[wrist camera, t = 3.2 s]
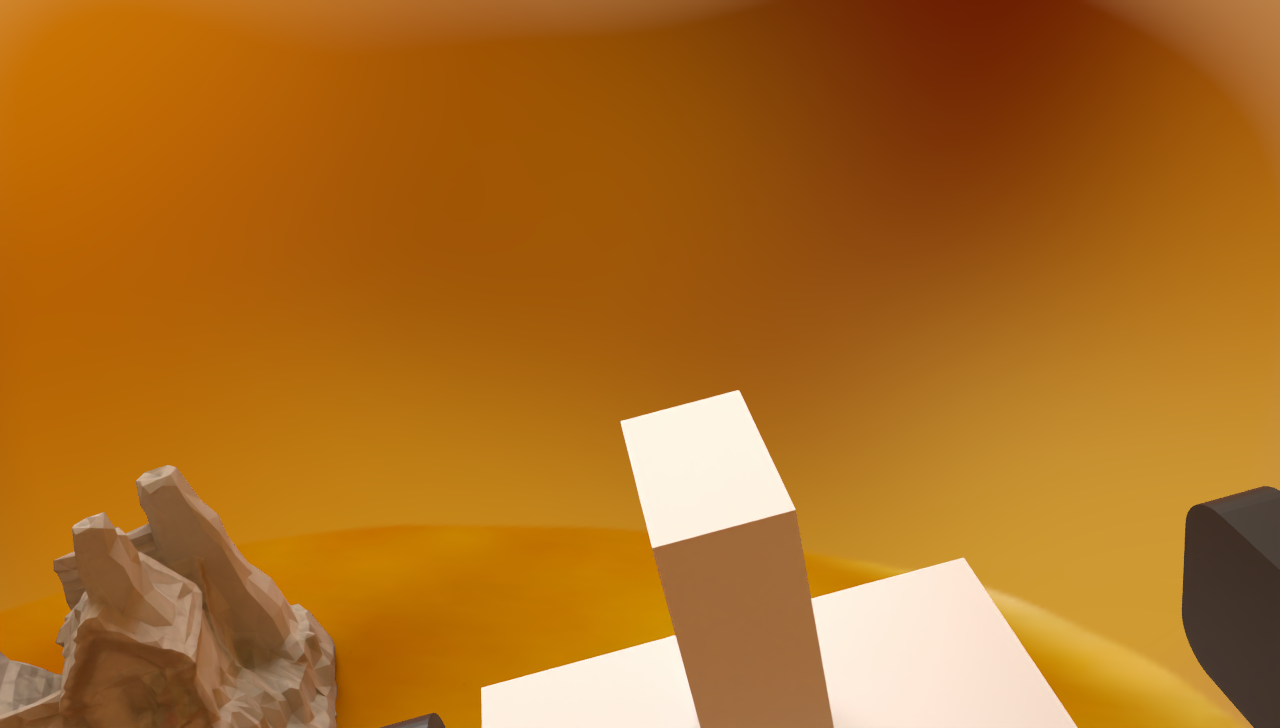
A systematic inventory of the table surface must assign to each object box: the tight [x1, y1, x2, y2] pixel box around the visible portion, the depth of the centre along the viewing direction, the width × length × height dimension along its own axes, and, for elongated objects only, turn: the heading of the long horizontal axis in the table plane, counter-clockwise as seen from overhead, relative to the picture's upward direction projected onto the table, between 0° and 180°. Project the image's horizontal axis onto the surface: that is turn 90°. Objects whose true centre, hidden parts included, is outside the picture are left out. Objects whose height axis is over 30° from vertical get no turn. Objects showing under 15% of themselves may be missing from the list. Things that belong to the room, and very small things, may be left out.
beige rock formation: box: [0, 465, 337, 728], centre depth 40 cm, size 16×16×15 cm
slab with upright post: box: [481, 390, 1077, 728], centre depth 26 cm, size 11×16×13 cm
